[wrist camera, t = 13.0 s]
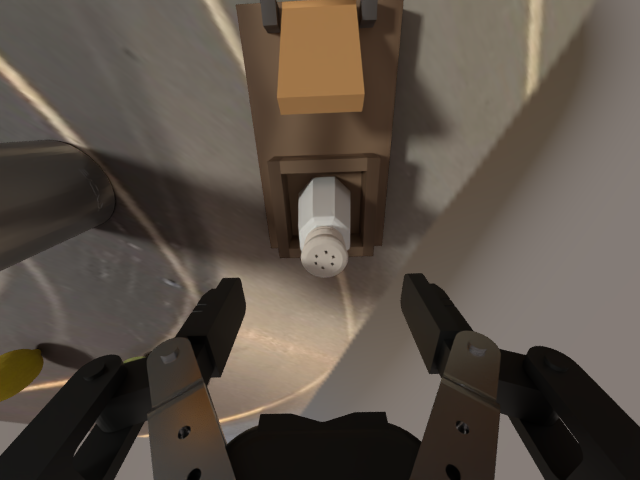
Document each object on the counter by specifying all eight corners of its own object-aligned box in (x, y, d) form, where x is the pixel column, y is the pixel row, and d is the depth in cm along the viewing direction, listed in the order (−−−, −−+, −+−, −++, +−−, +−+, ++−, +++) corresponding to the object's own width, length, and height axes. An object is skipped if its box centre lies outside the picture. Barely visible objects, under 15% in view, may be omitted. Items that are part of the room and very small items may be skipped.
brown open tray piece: (274, 240, 28) (265, 262, 24) (244, 15, 19) (219, -17, 15) (378, 237, 28) (388, 260, 23) (396, 6, 19) (418, -29, 14)
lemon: (57, 365, 39) (-3, 421, 32) (18, 353, 38) (-53, 408, 31) (60, 345, 37) (-3, 400, 30) (19, 332, 36) (-57, 385, 29)
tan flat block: (281, 116, 15) (276, 96, 14) (285, 20, 18) (282, -4, 17) (361, 112, 15) (365, 92, 14) (353, 17, 18) (355, -8, 16)
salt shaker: (339, 164, 22) (350, 200, 12) (360, 214, 24) (384, 279, 15) (287, 189, 23) (260, 239, 14) (312, 234, 26) (303, 307, 16)
